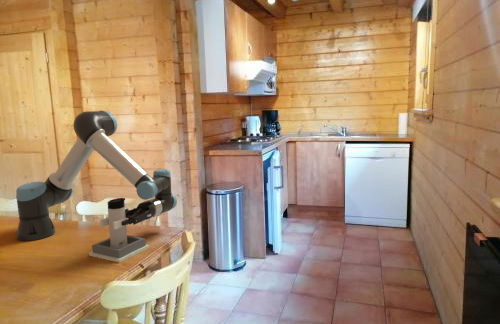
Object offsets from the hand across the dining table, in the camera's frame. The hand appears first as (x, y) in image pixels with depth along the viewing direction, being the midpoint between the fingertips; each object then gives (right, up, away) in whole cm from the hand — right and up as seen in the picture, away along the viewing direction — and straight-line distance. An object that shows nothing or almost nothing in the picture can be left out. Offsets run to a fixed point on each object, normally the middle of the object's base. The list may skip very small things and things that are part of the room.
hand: (107, 224), depth 140 cm
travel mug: (+3, -10, +6) cm, 12 cm away
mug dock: (+3, -12, +6) cm, 13 cm away
